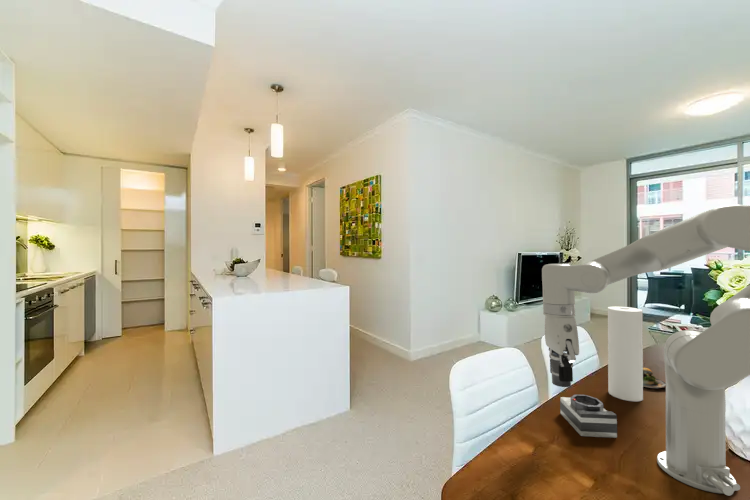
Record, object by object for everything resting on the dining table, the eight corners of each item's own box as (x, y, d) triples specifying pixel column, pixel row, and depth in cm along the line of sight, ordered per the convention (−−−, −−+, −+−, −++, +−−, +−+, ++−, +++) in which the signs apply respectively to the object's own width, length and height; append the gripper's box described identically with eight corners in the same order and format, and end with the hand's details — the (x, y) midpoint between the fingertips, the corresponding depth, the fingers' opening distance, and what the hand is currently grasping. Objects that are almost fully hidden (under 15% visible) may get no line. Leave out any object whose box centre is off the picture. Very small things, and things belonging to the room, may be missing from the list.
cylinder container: (649, 402, 106) (649, 310, 106) (617, 400, 108) (616, 309, 108) (632, 390, 115) (632, 305, 115) (603, 388, 117) (602, 304, 117)
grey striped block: (617, 437, 87) (617, 410, 86) (580, 436, 88) (580, 409, 87) (591, 414, 99) (591, 391, 99) (560, 413, 100) (560, 389, 99)
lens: (574, 387, 85) (573, 356, 85) (556, 387, 86) (554, 356, 86) (566, 380, 90) (564, 350, 90) (548, 380, 90) (547, 350, 90)
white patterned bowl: (620, 383, 121) (620, 363, 121) (630, 376, 128) (630, 357, 128) (662, 395, 112) (662, 373, 112) (671, 386, 119) (671, 365, 119)
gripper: (590, 315, 79) (593, 390, 79) (559, 304, 96) (561, 366, 96) (558, 315, 80) (560, 390, 80) (532, 304, 97) (534, 366, 97)
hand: (561, 376), depth 88 cm, fingers closed on lens, 4 cm apart
